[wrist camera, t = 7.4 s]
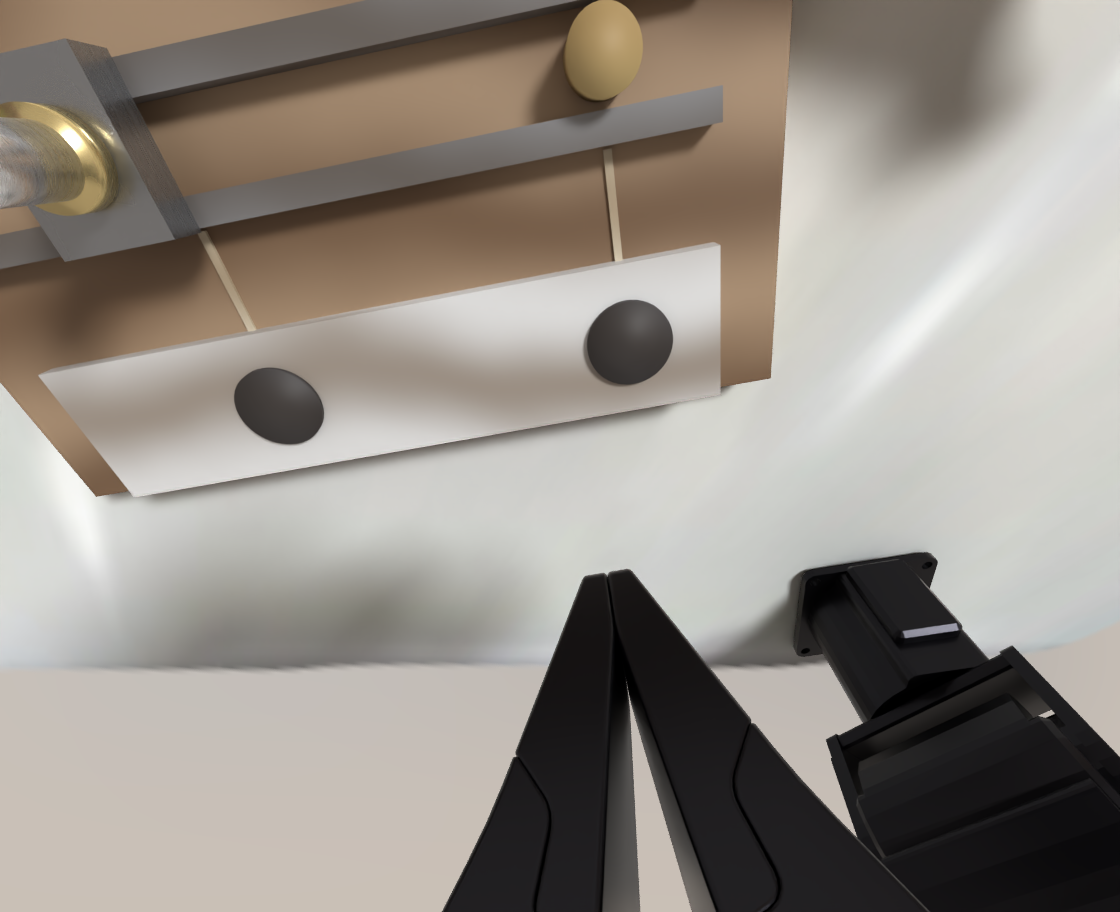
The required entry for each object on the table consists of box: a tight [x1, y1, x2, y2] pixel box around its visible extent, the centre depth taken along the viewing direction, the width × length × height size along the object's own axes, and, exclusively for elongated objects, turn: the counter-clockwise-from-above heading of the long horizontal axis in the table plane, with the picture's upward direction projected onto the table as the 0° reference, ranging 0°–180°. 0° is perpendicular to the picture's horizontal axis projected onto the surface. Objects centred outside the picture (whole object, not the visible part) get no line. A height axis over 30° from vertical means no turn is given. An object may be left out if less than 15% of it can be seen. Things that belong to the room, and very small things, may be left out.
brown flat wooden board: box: [0, 0, 793, 497], centre depth 15 cm, size 14×26×3 cm, turn 100°
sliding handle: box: [0, 38, 202, 262], centre depth 10 cm, size 4×3×5 cm
